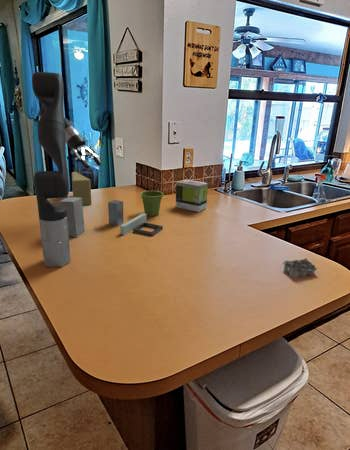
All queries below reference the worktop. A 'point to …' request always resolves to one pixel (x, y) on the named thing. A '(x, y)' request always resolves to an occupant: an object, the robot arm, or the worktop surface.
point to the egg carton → (299, 268)
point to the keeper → (137, 230)
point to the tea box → (191, 195)
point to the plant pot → (151, 202)
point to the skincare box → (74, 215)
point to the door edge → (132, 224)
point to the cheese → (81, 188)
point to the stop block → (115, 212)
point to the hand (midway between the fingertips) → (94, 166)
